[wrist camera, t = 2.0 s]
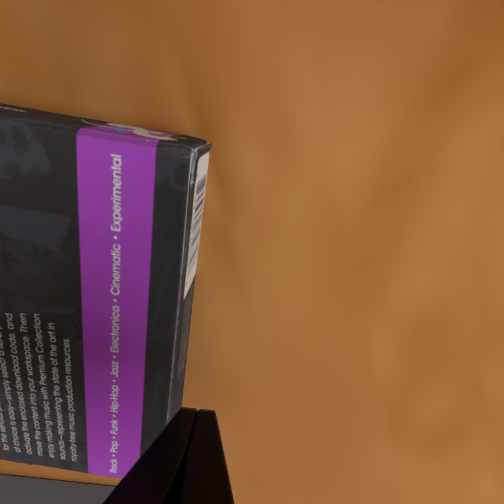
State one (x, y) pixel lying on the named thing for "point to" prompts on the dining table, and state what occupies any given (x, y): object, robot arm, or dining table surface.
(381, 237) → the dining table surface
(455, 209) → the dining table surface
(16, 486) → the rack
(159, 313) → the box
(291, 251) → the dining table surface
